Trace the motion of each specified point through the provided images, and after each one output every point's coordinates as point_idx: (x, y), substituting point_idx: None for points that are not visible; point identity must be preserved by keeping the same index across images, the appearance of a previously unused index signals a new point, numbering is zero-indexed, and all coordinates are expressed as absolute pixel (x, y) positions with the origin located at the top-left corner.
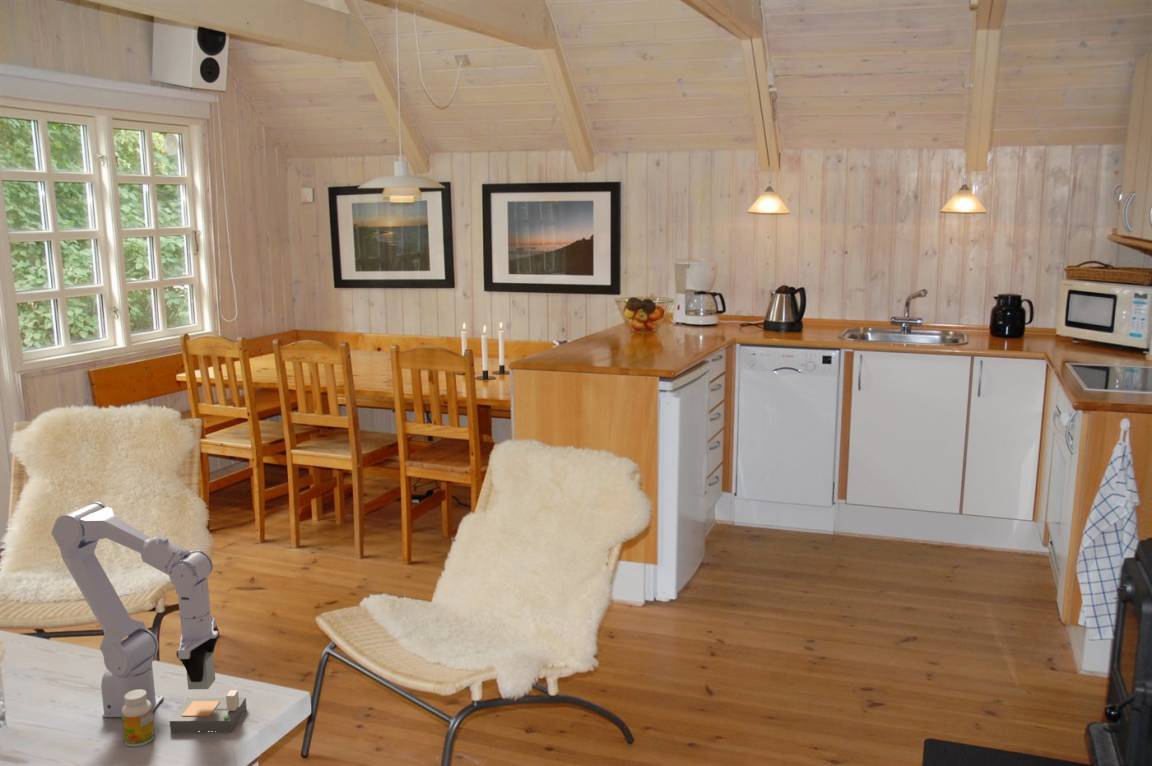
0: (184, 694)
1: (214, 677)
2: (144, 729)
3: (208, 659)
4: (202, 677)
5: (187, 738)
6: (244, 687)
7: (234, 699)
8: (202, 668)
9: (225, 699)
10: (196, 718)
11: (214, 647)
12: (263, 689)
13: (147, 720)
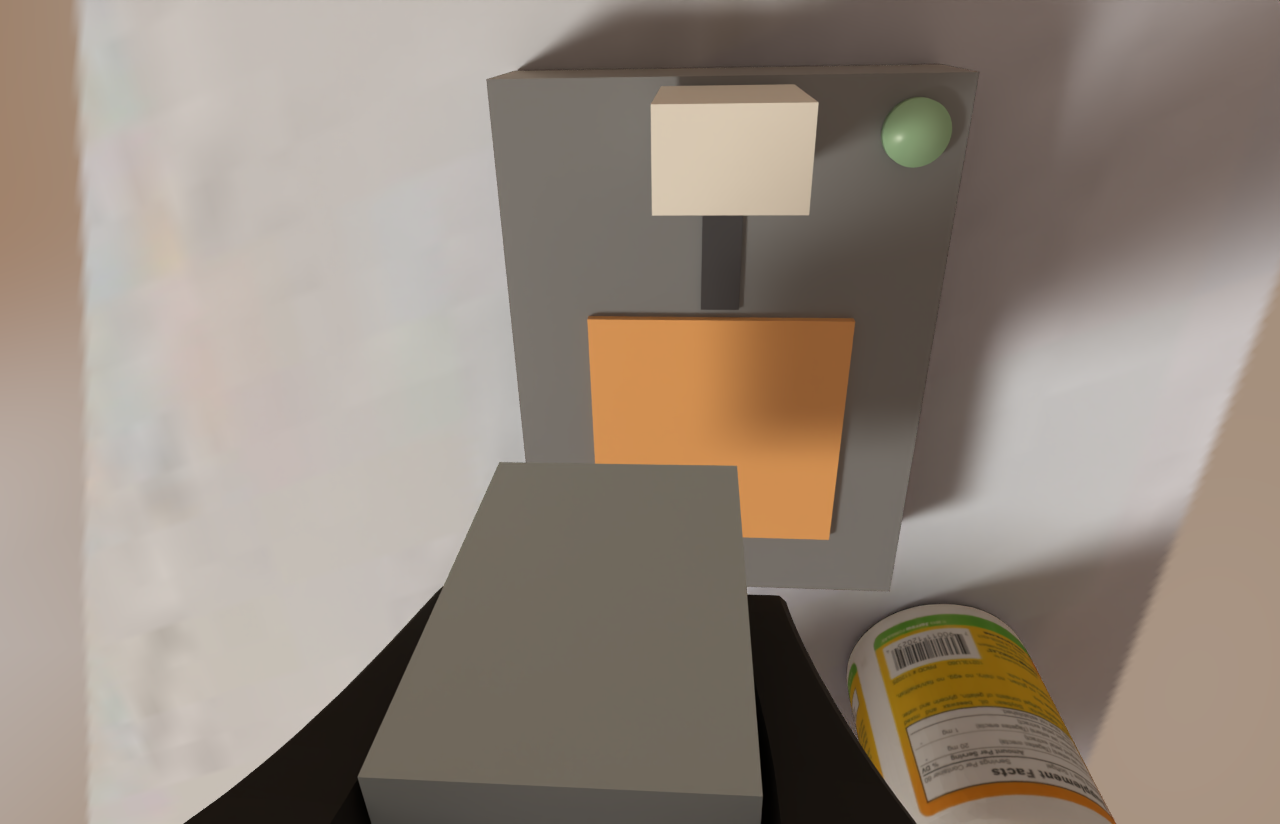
0: (374, 604)
1: (511, 482)
2: (1049, 706)
3: (613, 763)
4: (759, 618)
5: (972, 399)
6: (174, 231)
7: (802, 96)
8: (810, 732)
9: (540, 281)
10: (876, 416)
11: (209, 818)
12: (153, 31)
13: (1053, 743)
